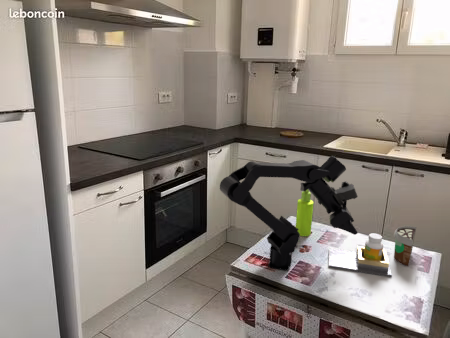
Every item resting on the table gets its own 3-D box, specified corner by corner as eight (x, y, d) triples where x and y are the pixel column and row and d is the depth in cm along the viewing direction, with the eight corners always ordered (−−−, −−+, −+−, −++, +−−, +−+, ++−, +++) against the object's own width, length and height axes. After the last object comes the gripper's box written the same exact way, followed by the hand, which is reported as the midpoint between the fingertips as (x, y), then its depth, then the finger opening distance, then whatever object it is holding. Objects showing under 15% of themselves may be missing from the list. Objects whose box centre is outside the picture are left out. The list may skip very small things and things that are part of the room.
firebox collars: (328, 267, 122) (329, 256, 121) (329, 249, 133) (330, 240, 132) (391, 277, 118) (393, 266, 116) (386, 258, 129) (388, 248, 128)
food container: (393, 247, 136) (397, 222, 133) (411, 252, 133) (416, 226, 130) (387, 263, 126) (391, 235, 123) (407, 268, 123) (412, 240, 120)
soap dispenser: (314, 236, 143) (319, 186, 137) (296, 236, 143) (300, 186, 138) (311, 229, 149) (316, 181, 143) (294, 229, 149) (297, 181, 143)
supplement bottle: (359, 262, 124) (363, 235, 121) (367, 256, 128) (371, 230, 125) (375, 269, 120) (380, 241, 118) (383, 263, 124) (387, 236, 121)
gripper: (346, 186, 109) (381, 225, 110) (340, 168, 127) (370, 202, 128) (316, 208, 113) (350, 246, 114) (314, 188, 130) (343, 221, 132)
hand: (354, 227), depth 122 cm, fingers open, 9 cm apart
